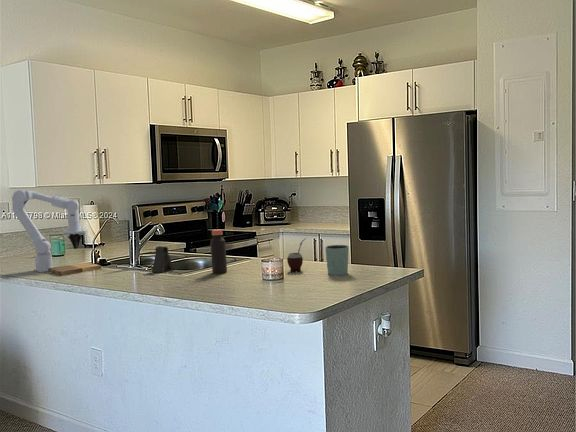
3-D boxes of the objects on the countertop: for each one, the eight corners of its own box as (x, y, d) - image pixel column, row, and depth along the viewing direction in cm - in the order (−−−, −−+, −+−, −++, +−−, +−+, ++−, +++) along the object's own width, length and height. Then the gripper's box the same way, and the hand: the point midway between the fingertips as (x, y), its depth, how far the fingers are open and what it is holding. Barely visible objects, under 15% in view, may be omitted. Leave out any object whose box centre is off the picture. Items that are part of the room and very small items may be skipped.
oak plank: (68, 269, 300) (68, 265, 299) (86, 266, 306) (86, 262, 306) (82, 272, 286) (82, 268, 286) (101, 269, 293) (101, 265, 293)
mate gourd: (284, 271, 259) (282, 239, 257) (296, 268, 264) (294, 236, 263) (296, 273, 254) (295, 239, 252) (308, 270, 259) (306, 237, 258)
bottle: (224, 273, 262) (221, 230, 260) (210, 274, 263) (207, 231, 261) (228, 271, 268) (226, 228, 266) (215, 271, 269) (212, 229, 268)
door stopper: (159, 273, 273) (157, 248, 272) (151, 272, 277) (150, 247, 276) (174, 269, 279) (172, 245, 278) (166, 269, 283) (165, 245, 282)
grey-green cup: (336, 270, 254) (335, 244, 253) (354, 272, 247) (353, 245, 246) (321, 274, 247) (320, 247, 246) (339, 277, 240) (338, 248, 239)
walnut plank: (48, 272, 293) (48, 268, 292) (67, 269, 299) (67, 265, 299) (61, 275, 279) (61, 271, 279) (81, 272, 286) (81, 268, 286)
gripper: (57, 224, 298) (59, 249, 299) (80, 223, 294) (82, 249, 295) (66, 222, 305) (68, 247, 306) (89, 222, 301) (91, 247, 302)
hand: (76, 248), depth 301 cm, fingers closed
